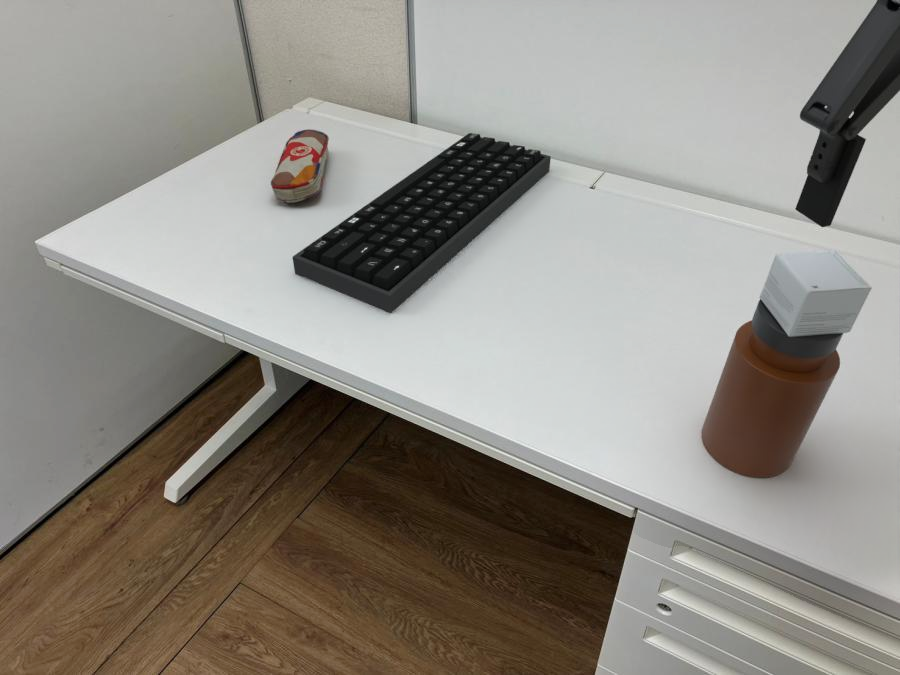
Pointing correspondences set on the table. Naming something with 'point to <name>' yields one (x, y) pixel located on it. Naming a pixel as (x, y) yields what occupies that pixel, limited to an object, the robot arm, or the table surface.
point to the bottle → (768, 396)
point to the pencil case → (301, 166)
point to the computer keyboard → (421, 221)
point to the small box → (814, 293)
